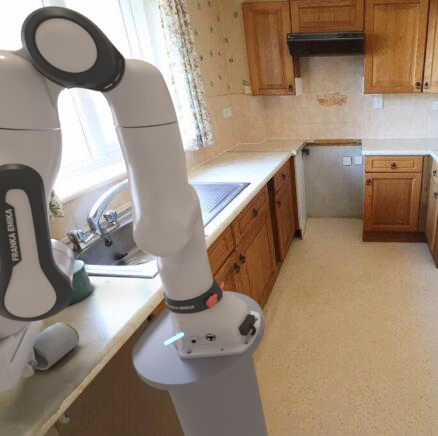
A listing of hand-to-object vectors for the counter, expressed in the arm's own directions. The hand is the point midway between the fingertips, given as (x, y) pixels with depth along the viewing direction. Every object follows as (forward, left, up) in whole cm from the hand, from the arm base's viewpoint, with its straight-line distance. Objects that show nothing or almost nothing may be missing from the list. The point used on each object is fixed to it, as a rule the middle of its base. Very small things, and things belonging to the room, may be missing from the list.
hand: (30, 371), depth 66 cm
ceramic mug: (+5, -8, -5) cm, 11 cm away
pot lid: (+20, -30, +3) cm, 36 cm away
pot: (+20, -30, -5) cm, 36 cm away
